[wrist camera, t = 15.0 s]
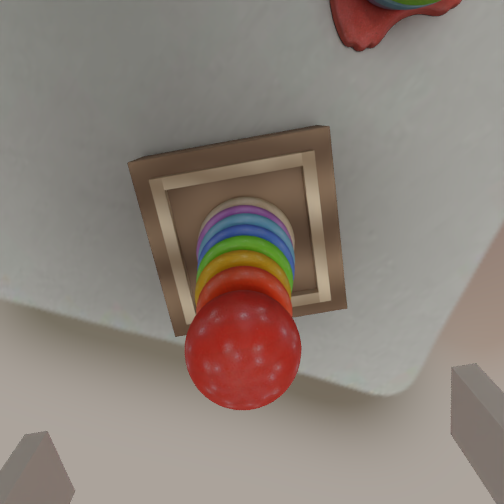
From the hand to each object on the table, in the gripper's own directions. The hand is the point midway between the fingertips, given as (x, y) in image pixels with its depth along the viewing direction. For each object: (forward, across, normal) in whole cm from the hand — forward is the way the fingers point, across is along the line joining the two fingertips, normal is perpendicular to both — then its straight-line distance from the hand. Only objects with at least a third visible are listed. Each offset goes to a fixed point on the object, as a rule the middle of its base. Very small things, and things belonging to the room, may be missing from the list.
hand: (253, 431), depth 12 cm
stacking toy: (+21, 0, 0) cm, 21 cm away
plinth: (+26, 0, 0) cm, 26 cm away
